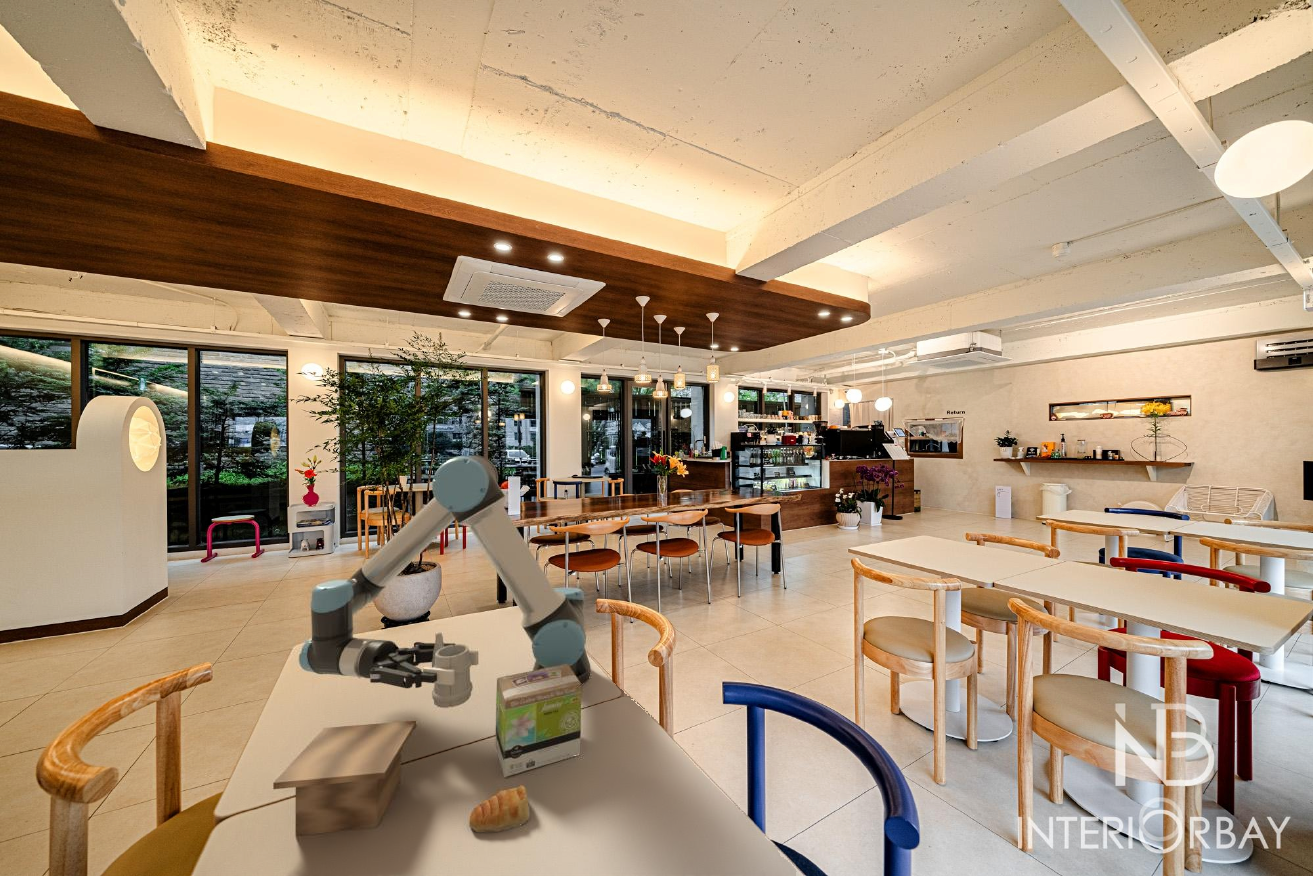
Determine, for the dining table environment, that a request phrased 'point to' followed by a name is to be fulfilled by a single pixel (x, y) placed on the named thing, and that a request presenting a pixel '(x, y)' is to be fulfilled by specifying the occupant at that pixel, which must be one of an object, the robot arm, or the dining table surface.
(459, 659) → the mug
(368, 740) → the walnut stand
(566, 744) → the tea box
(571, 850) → the dining table surface
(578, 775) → the dining table surface
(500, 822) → the pastry
